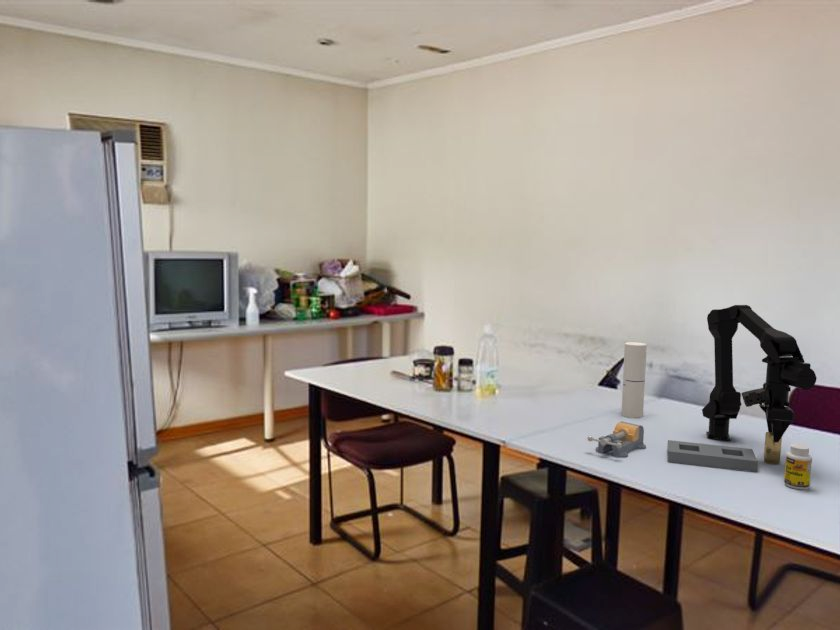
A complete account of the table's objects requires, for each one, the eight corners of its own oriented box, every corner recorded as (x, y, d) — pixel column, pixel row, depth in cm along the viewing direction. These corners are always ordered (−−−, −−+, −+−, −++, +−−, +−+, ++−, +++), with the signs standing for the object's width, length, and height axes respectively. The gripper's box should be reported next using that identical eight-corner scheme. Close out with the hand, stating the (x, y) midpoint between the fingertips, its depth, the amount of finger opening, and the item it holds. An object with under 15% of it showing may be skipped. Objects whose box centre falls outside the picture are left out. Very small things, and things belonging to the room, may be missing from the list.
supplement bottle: (779, 485, 168) (782, 445, 166) (790, 480, 171) (793, 441, 170) (803, 492, 163) (806, 451, 162) (813, 487, 166) (817, 447, 165)
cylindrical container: (634, 419, 227) (638, 346, 224) (617, 414, 233) (620, 343, 230) (647, 416, 231) (651, 344, 228) (629, 411, 237) (633, 341, 234)
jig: (667, 450, 194) (667, 440, 194) (751, 459, 187) (752, 448, 187) (667, 461, 184) (668, 451, 184) (756, 472, 177) (757, 461, 176)
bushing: (762, 459, 187) (764, 430, 186) (778, 460, 186) (780, 432, 185) (764, 463, 184) (766, 434, 183) (781, 465, 182) (783, 436, 181)
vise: (617, 440, 204) (618, 418, 203) (649, 447, 197) (650, 425, 196) (585, 453, 191) (586, 430, 190) (619, 462, 184) (620, 438, 183)
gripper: (741, 372, 194) (737, 425, 196) (749, 386, 176) (745, 443, 178) (784, 375, 190) (780, 429, 192) (797, 389, 173) (792, 448, 174)
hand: (773, 437), depth 184 cm, fingers open, 9 cm apart
